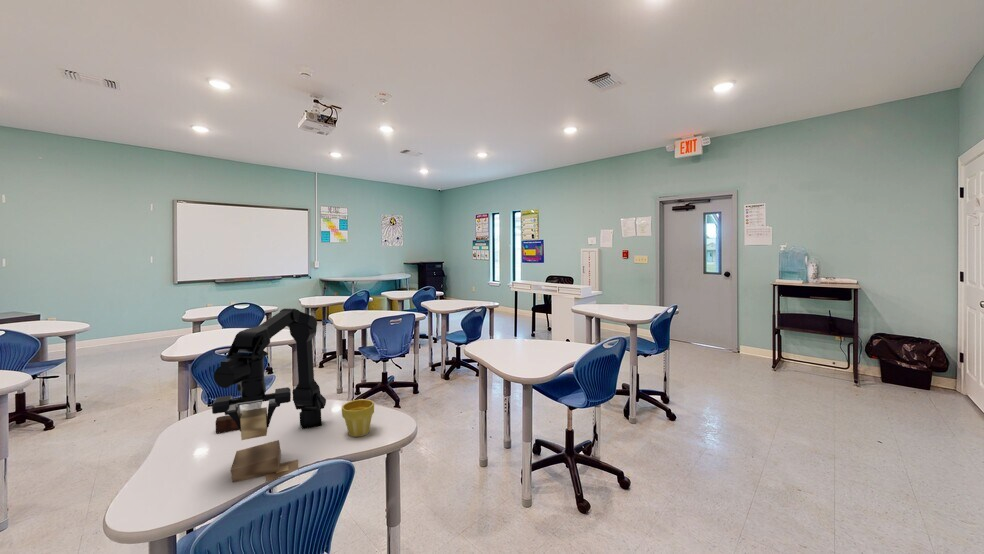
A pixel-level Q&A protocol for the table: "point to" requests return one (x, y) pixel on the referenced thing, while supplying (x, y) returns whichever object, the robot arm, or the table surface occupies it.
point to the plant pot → (358, 416)
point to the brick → (225, 424)
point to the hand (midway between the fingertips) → (254, 429)
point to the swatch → (283, 470)
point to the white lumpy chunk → (250, 406)
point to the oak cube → (254, 423)
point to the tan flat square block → (256, 461)
